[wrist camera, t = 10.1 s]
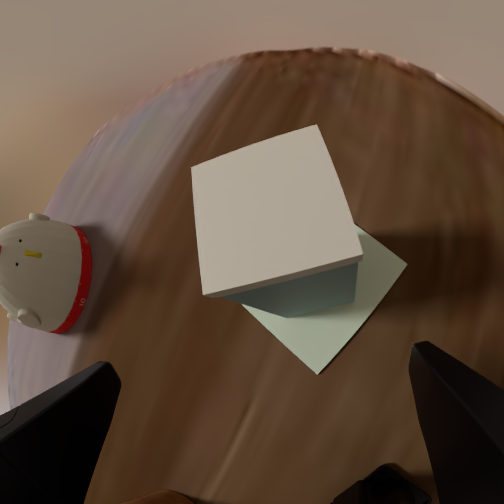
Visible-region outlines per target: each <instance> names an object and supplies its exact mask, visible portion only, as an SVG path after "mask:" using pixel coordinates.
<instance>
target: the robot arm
mask: <svg viewBox="0 0 504 504" xmlns="http://www.w3.org/2000/svg"><path fill="white" fill-rule="evenodd" d="M409 376H410V380H411V385H412V389H413V394H414V399H415V404H416V409H417V414H418V419H419V423H420V427H421V430H422V433H423V437H424V440H425V444H426V447H427V451H428V455H429V458H430V462H431V466H432V470H433V474H434V479H435V483H436V487H437V492H438V497H439V502H440V504H504V390H503V389H501V388H500V387H498V386H497V385H495V384H494V383H492V382H491V381H489V380H488V379H486V378H485V377H483V376H482V375H480V374H479V373H477V372H475V371H474V370H472V369H471V368H469V367H468V366H466V365H465V364H463V363H462V362H460V361H458V360H457V359H455V358H454V357H452V356H451V355H449V354H448V353H446V352H444V351H443V350H441V349H440V348H438V347H437V346H435V345H433V344H432V343H430V342H429V341H423V342H418V343H415V344H414V345H413V346H412V351H411V357H410V362H409ZM120 389H121V380H120V378H119V376H118V375H117V373H116V371H115V369H114V368H113V366H112V364H111V363H109V362H104V361H99V362H97V363H95V364H93V365H91V366H90V367H88V368H86V369H84V370H83V371H81V372H79V373H77V374H75V375H74V376H72V377H70V378H68V379H67V380H65V381H63V382H61V383H59V384H58V385H56V386H54V387H52V388H50V389H49V390H47V391H45V392H43V393H41V394H40V395H38V396H36V397H34V398H32V399H30V400H29V401H27V402H25V403H23V404H21V405H20V406H18V407H16V408H14V409H12V410H10V411H8V412H6V413H4V414H2V415H0V504H84V500H85V497H86V494H87V491H88V488H89V484H90V481H91V478H92V475H93V472H94V469H95V466H96V463H97V461H98V458H99V455H100V452H101V449H102V446H103V444H104V441H105V438H106V435H107V433H108V430H109V427H110V424H111V421H112V418H113V414H114V410H115V407H116V403H117V400H118V396H119V393H120ZM384 469H385V470H386V471H385V472H384V473H381V470H384ZM425 500H427V501H426V502H424V501H425ZM431 502H432V498H431V496H430V495H428V494H427V493H425V492H424V491H422V490H421V489H419V488H418V487H417V486H415V485H414V484H412V483H411V482H410V481H408V480H407V479H405V478H404V477H403V476H401V475H400V474H399V473H397V472H396V471H395V470H393V469H392V468H391V467H389V466H388V465H381V466H379V467H378V468H377V469H376V470H375V471H373V472H372V473H371V474H370V475H368V476H367V477H366V478H365V479H363V480H360V481H357V482H356V483H355V484H353V485H352V486H351V487H349V488H348V489H347V490H345V491H344V492H343V493H341V494H340V495H338V496H337V497H336V498H334V501H333V502H332V503H331V504H430V503H431Z"/></svg>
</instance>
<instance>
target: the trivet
mask: <svg viewBox="0 0 504 504" xmlns="http://www.w3.org/2000/svg"><path fill="white" fill-rule="evenodd" d="M354 225H355V224H354ZM355 229H356V232H357V235H358V238H359V241H360V245H361V248H362V252H363V259H362V261H360V262H358V271H357V281H356V290H355V299H354V302H350V303H346V304H342V305H338V306H334V307H330V308H326V309H322V310H318V311H314V312H310V313H306V314H301V315H297V316H293V317H288V318H284V317H281V316H278V315H275V314H271V313H268V312H265V311H262V310H259V309H256V308H253V307H250V306H247V305H244V304H242V305H243V306H244V307H245V308H246V309H247V310H248V311H249V312H250V313H251V314H252V315H253V316H254V317H255V318H256V319H258V320H259V321H260V322H261V323H262V324H263V325H264V326H265V327H266V328H267V329H268V330H269V331H270V332H271V333H272V334H273V335H274V336H276V337H277V338H278V339H279V340H280V341H281V342H282V343H283V344H284V345H285V346H286V347H287V348H288V349H290V350H291V351H292V352H293V353H294V354H295V355H296V356H297V357H298V358H299V359H300V360H302V361H303V362H304V363H305V364H306V365H307V366H308V367H309V368H310V369H312V370H313V371H314V372H315V373H316V374H318V373H319V372H320V371H321V370H322V369H323V368H324V367H325V366H326V365H327V364H328V363H329V362H330V361H331V359H332V358H333V357H334V356H335V355H336V354H337V353H338V352H339V351H340V349H341V348H342V347H343V346H344V345H345V344H346V343H347V342H348V340H349V339H350V338H351V337H352V336H353V335H354V333H355V332H356V331H357V330H358V329H359V327H360V326H361V325H362V324H363V323H364V321H365V320H366V319H367V318H368V316H369V315H370V314H371V313H372V311H373V310H374V309H375V308H376V306H377V305H378V304H379V303H380V301H381V300H382V299H383V297H384V296H385V295H386V293H387V292H388V291H389V289H390V288H391V287H392V285H393V284H394V283H395V281H396V280H397V278H398V277H399V276H400V274H401V273H402V271H403V270H404V269H405V267H406V266H407V263H405V262H404V261H403V260H402V259H400V258H399V257H398V256H396V255H395V254H394V253H393V252H391V251H390V250H389V249H387V248H386V247H385V246H383V245H382V244H381V243H379V242H378V241H377V240H375V239H374V238H373V237H371V236H370V235H369V234H367V233H366V232H365V231H363V230H362V229H360V228H359V227H358V226H356V225H355Z"/></svg>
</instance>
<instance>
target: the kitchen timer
mask: <svg viewBox="0 0 504 504" xmlns="http://www.w3.org/2000/svg"><path fill="white" fill-rule="evenodd" d="M29 218H30V219H27V220H22V221H18V222H15V223H12V224H10V225H8V226H5V227H3V228H2V229H0V304H1V305H2V306H3V307H4V308H5V309H6V310H7V311H8V315H7V317H8V318H9V319H11V320H13V321H16V322H18V323H21V324H23V325H26V326H28V327H31V328H36V329H39V330H42V331H46V332H51V333H57V334H59V333H62V332H65V331H67V330H68V329H69V328H70V327H71V326H72V325H73V324H75V322H76V320H77V319H78V317H79V315H80V314H81V312H82V310H83V307H84V304H85V301H86V299H87V296H88V291H89V286H90V281H91V271H92V257H91V249H90V245H89V242H88V240H87V237H86V235H85V234H84V233H83V232H82V231H81V230H80V229H78V228H76V227H74V226H72V225H69V224H66V223H62V222H59V221H54V220H50V218H49V217H48V216H45V215H41V214H36V213H31V214H30V217H29Z"/></svg>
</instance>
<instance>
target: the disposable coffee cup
mask: <svg viewBox="0 0 504 504" xmlns="http://www.w3.org/2000/svg"><path fill="white" fill-rule="evenodd" d="M118 504H194V503H193V502H192V501H191V500H189V499H188V498H186V497H185V496H183V495H181V494H179V493H177V492H174V491H170V490H158V491H155V492H153V493H150V494H147V495H144V496H141V497H138V498H135V499H132V500H128V501H125V502H121V503H118Z"/></svg>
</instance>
